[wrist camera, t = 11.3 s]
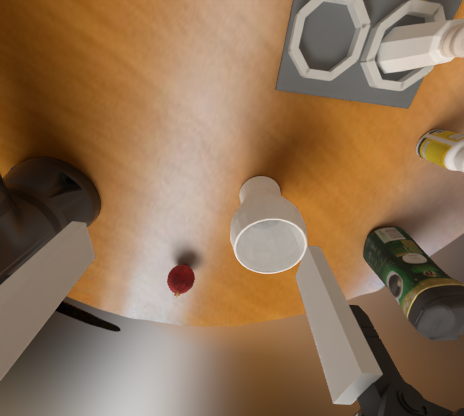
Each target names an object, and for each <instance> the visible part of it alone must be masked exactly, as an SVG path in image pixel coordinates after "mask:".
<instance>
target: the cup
mask: <svg viewBox="0 0 464 416" xmlns="http://www.w3.org/2000/svg"><path fill="white" fill-rule="evenodd" d="M239 198H240V202H241V204H240V206H239V207H238V209H237V211H236V212H235V214H234V216H233V218H232V221H231V228H230V239H231V243H232V246H233V249H234V252H235V255H236V258H237V259H238V260H239V262H240V263H241V264H242V265H243V266H245V267H246V268H247V269H250V270H252V271H254V272H259V273H278V272H282V271H285V270H287V269H290V268H291V267H293V266H294V265H296V264H297V263H298V262H299V261H300V260H301V259H302V258H303V256H304V253H305V251H306V248H307V231H306V224H305V222H304V220H303V218H302V216H301V214H300V212H299V210H298V209H297V208H296V207H295V206H294V205H293V204H292V203H291V202H290V201H288V200H287V199H286V198H284V197H282V196H281V192H280V187H279V186H278V184H277V183H276V182H275V181H274V180H273V179H271V178H269V177H265V176H257V177H253V178H251V179H249V180H247V181H246V182H245V183H244V184H243V186H242V187H241V189H240V193H239Z"/></svg>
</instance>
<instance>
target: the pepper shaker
mask: <svg viewBox="0 0 464 416" xmlns="http://www.w3.org/2000/svg"><path fill="white" fill-rule="evenodd" d="M455 57H464V19H455V20H447V21H438V22H430V23H422V24H414V25H406V26H399V27H394V28H393V29H392V30H391V31H390V32H389V33H388V34H387V35H386V37H385V38H384V39H383V40H382V41H381V43H380V45H379V48H378V52H377V58H376V64H377V65H378V66H379V67H380V69H381V70H382V71H383V73H384V74H385V73H393V72H401V71H406V70H411V69H416V68H421V67H426V66H431V65H436V64H442V63H446V62H450V61H451V60H452V59H453V58H455Z"/></svg>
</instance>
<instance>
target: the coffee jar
mask: <svg viewBox="0 0 464 416" xmlns="http://www.w3.org/2000/svg"><path fill="white" fill-rule="evenodd" d="M363 257H364V259H365V261H366V262H367V263H368V265H369V266H370V267H371V268H372V270H373V271H374V272H375V273H376V274H377V275H378V277H379V278H380V279H381V280H382V282H383V283H384V284H385V285H386V287H387V288H388V289H389V290H390V292H391V293H392V294H393V296H394V297H395V298H396V300H397V301H398V303H399V305H400V306H401V308H402V310H403V312H404V314H405V316H406V317H407V319H408V320H409V321H410V323H411V324H412V325H413V326H414V327H415V329H416V330H417V331H418V332H419V333H420V334H421V335H423V336H424V337H426V338H428V339H430V340H454V339H458V338H459V336H460V335H461V334H462V333H463V332H464V285H463V284H462V283H460V282H459V281H457V280H455V279H452V278H451V277H449V276H448V275H447V274H446V273H445V272H444V271H442V270H441V269H440V268H439V267H438V266H437V265H436V264H435V263H434V262H433V260H432V259H431V258H430V257H429V256H428V255H427V254H426V253H425V252H424V251H423V250H422V249H421V248H420V247H419V246H418V244H417V243H416V242H415V241H414V240H413V239H412V238H411V237H410V236H409V235H408V234H407V233H406V232H405V231H404V230H403V229H401V228H398V227H384V228H380V229H377V230H375V231H373V232H371V233H370V234H369V235H368V237H367V240H366V242H365V246H364V253H363Z"/></svg>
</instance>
